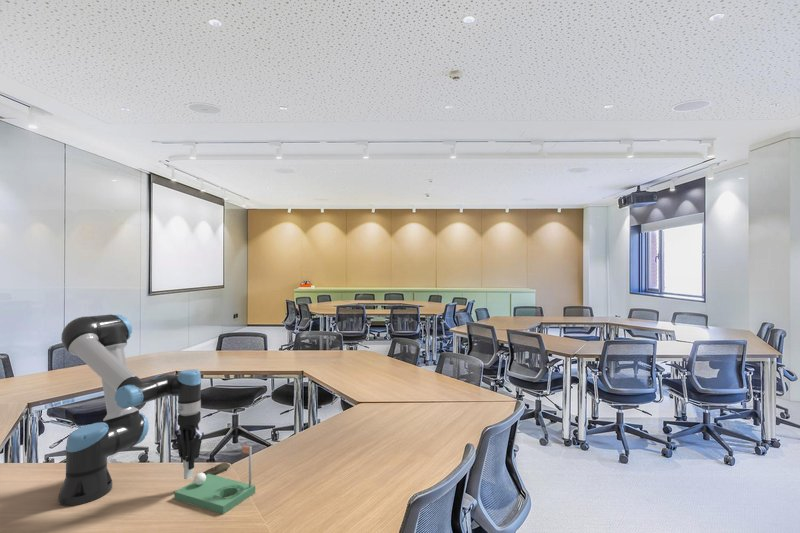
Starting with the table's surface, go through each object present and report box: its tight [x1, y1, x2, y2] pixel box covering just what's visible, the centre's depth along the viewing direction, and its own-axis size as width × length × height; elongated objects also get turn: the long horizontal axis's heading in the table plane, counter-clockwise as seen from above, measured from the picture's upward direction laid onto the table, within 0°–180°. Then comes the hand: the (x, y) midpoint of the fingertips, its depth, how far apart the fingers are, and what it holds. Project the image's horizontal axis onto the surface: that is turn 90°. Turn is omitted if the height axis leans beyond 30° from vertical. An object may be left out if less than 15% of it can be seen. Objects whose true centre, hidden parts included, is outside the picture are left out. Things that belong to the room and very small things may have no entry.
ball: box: [193, 472, 206, 485], centre depth 140 cm, size 4×4×4 cm
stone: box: [202, 461, 231, 476], centre depth 153 cm, size 13×5×2 cm, turn 148°
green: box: [173, 445, 256, 515], centre depth 137 cm, size 24×14×16 cm, turn 66°
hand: (188, 477), depth 142 cm, fingers closed
